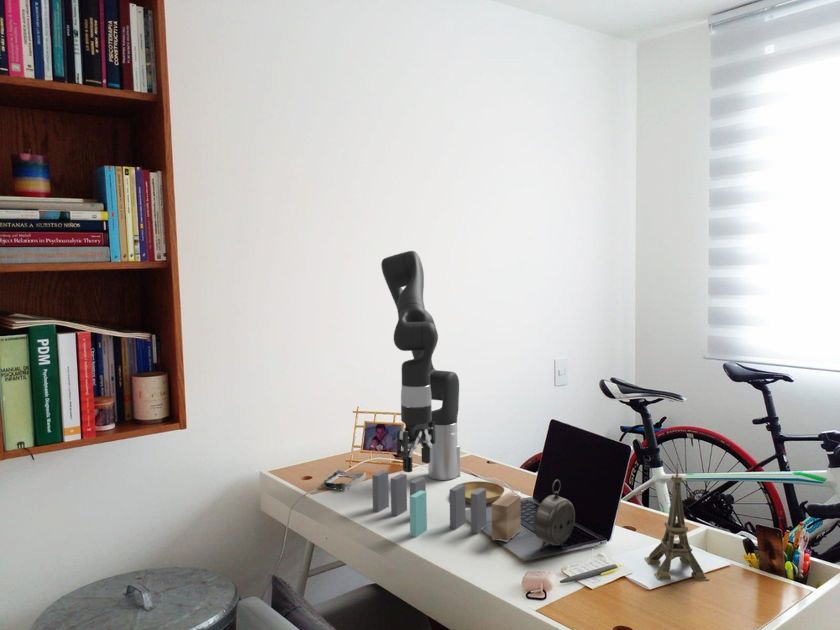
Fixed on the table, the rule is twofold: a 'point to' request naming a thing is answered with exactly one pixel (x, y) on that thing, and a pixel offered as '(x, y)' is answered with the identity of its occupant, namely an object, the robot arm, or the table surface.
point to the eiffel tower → (675, 546)
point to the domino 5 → (457, 506)
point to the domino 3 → (417, 485)
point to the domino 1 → (380, 491)
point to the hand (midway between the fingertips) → (416, 467)
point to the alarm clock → (554, 519)
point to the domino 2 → (398, 494)
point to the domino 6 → (478, 510)
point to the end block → (506, 517)
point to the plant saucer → (491, 488)
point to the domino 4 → (418, 513)
